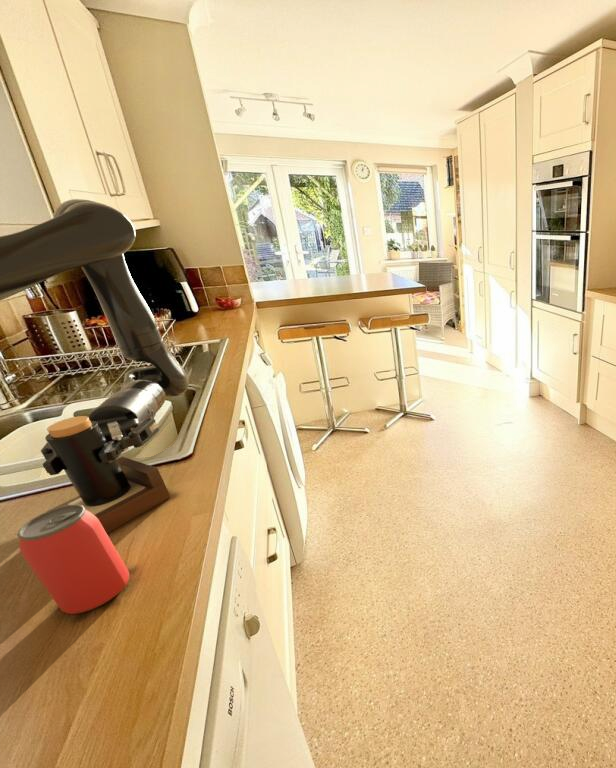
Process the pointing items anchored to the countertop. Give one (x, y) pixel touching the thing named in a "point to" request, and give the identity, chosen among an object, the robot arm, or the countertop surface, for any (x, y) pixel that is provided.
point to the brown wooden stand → (129, 495)
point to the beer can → (73, 558)
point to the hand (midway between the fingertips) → (78, 464)
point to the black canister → (86, 460)
